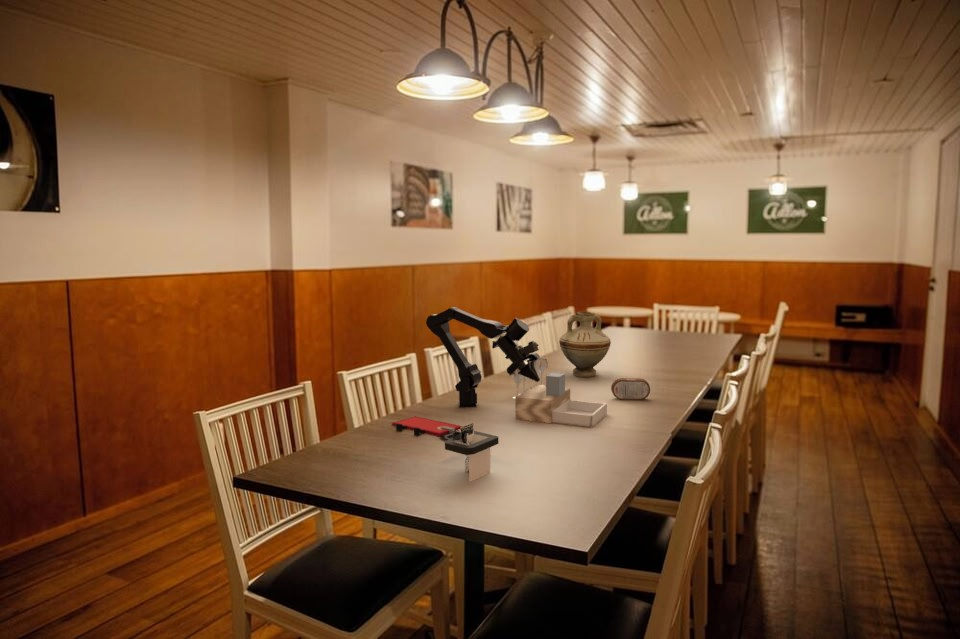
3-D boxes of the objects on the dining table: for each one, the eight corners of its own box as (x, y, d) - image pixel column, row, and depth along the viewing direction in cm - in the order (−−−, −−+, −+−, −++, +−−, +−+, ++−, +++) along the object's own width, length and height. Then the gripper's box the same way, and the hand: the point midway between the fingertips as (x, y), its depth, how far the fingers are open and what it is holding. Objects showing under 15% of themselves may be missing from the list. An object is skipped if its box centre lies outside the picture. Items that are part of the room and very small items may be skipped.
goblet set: (521, 400, 248) (521, 367, 247) (508, 398, 251) (508, 366, 250) (550, 385, 272) (550, 356, 271) (538, 384, 275) (538, 355, 274)
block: (546, 395, 222) (546, 375, 221) (552, 391, 228) (552, 372, 227) (559, 396, 220) (559, 377, 219) (565, 392, 225) (565, 373, 224)
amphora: (617, 373, 296) (618, 310, 293) (598, 382, 276) (599, 315, 273) (571, 368, 309) (571, 308, 305) (550, 377, 289) (550, 313, 285)
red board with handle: (449, 444, 194) (479, 433, 206) (448, 435, 194) (479, 425, 206) (384, 429, 213) (415, 420, 225) (383, 421, 213) (414, 412, 224)
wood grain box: (515, 418, 221) (515, 396, 220) (536, 405, 239) (536, 385, 238) (550, 423, 215) (550, 400, 214) (570, 409, 233) (570, 388, 232)
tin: (649, 398, 247) (649, 377, 246) (650, 400, 244) (651, 379, 243) (611, 398, 249) (611, 377, 248) (611, 400, 246) (612, 379, 245)
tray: (550, 422, 216) (550, 411, 216) (567, 409, 232) (567, 399, 232) (591, 427, 209) (591, 416, 209) (606, 414, 225) (606, 403, 225)
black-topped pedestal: (466, 452, 187) (465, 408, 186) (538, 470, 171) (538, 423, 169) (398, 479, 166) (396, 431, 164) (474, 504, 149) (473, 450, 148)
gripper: (514, 338, 218) (543, 371, 215) (534, 331, 235) (562, 362, 231) (494, 358, 223) (523, 391, 219) (515, 350, 239) (542, 381, 236)
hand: (538, 380), depth 226 cm, fingers closed
